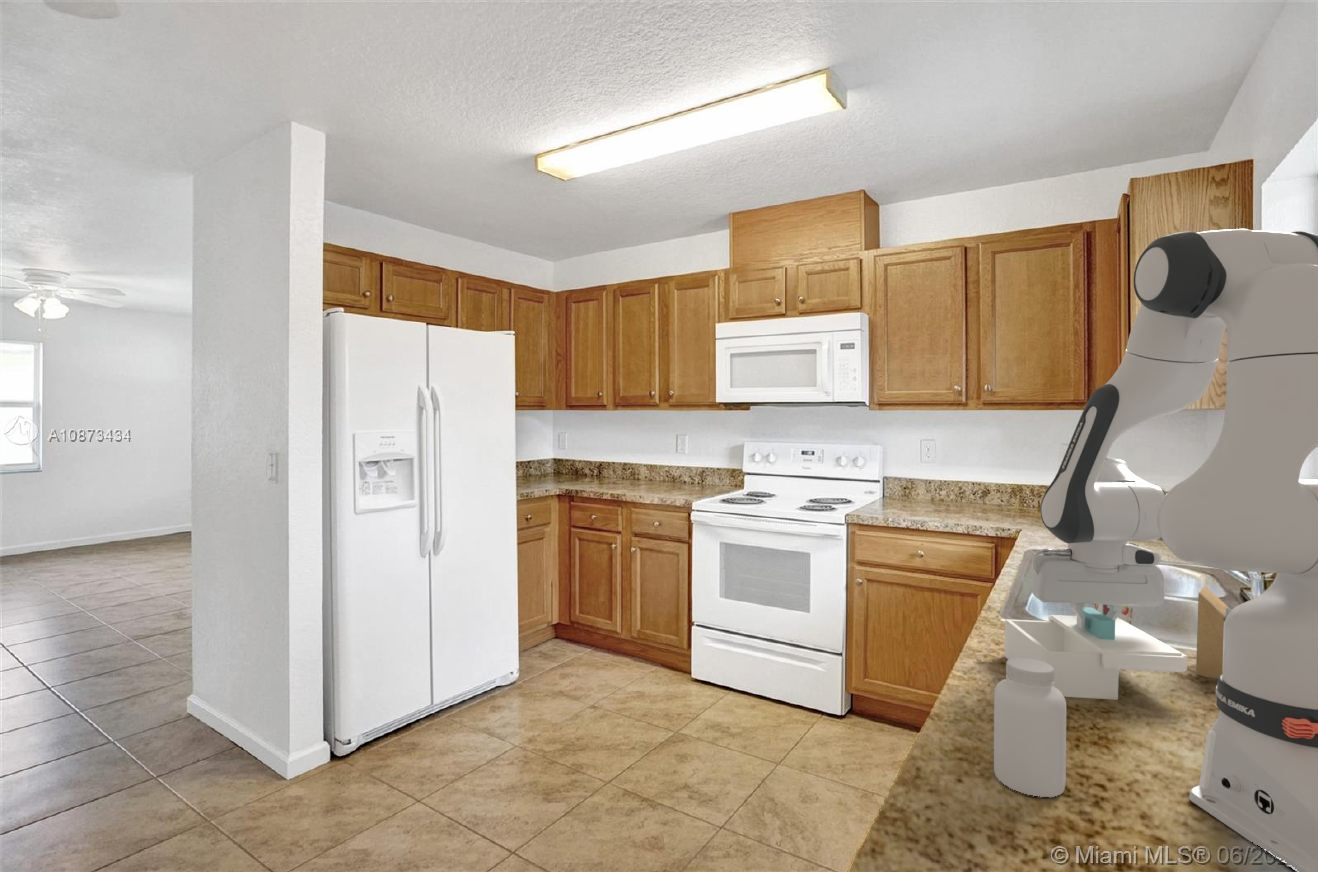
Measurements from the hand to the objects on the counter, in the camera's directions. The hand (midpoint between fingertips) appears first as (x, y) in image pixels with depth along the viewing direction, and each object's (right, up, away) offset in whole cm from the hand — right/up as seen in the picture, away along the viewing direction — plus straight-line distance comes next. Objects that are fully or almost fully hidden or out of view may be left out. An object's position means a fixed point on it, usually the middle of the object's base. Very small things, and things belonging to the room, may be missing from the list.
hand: (1095, 628), depth 117 cm
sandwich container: (+28, -9, 0) cm, 29 cm away
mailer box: (-6, -9, +1) cm, 11 cm away
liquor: (+14, -9, +17) cm, 23 cm away
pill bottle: (-30, -10, -33) cm, 46 cm away
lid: (+3, -3, 0) cm, 4 cm away
